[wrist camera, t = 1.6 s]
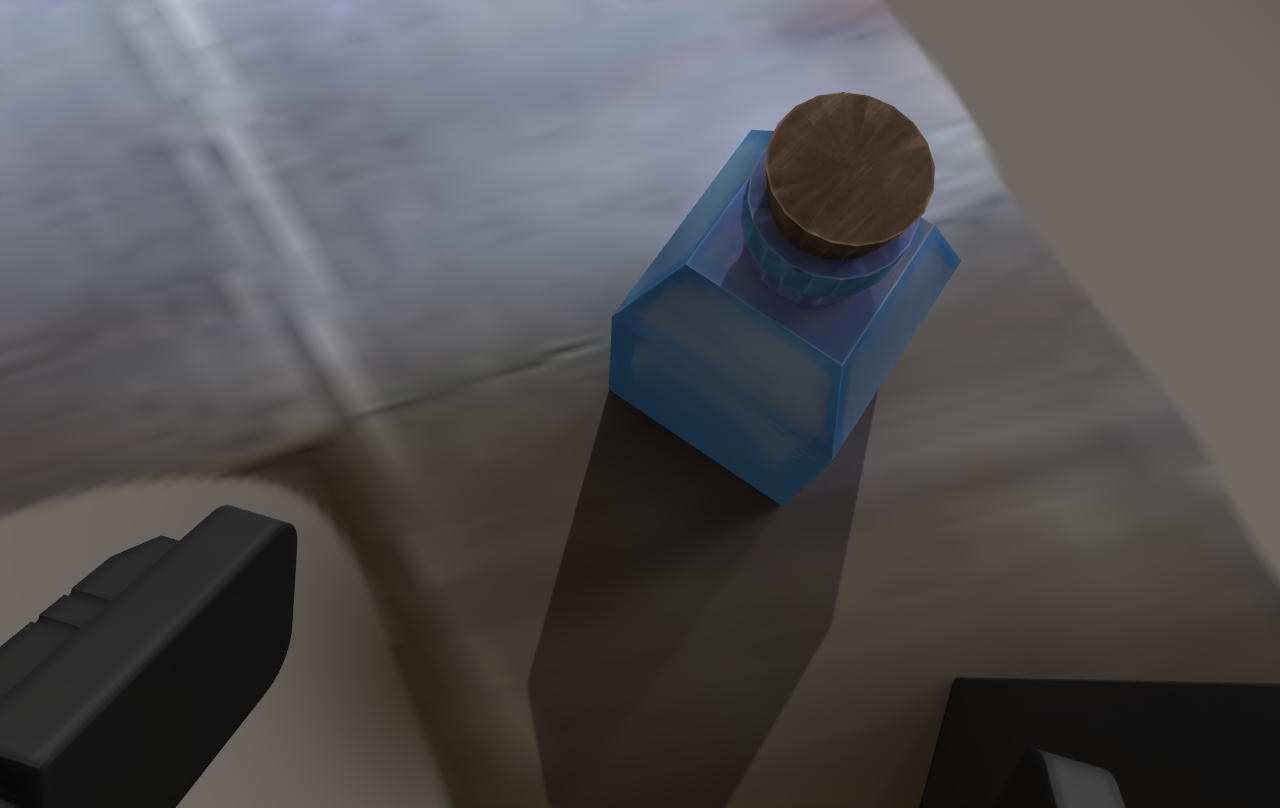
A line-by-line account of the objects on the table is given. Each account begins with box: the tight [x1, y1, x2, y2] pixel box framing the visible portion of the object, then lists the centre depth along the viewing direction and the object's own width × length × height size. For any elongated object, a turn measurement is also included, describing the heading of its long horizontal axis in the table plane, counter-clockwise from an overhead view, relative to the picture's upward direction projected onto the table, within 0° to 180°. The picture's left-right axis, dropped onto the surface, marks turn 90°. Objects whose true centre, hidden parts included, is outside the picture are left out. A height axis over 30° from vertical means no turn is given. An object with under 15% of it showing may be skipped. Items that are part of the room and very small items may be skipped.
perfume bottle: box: [609, 92, 961, 506], centre depth 23 cm, size 6×6×12 cm
